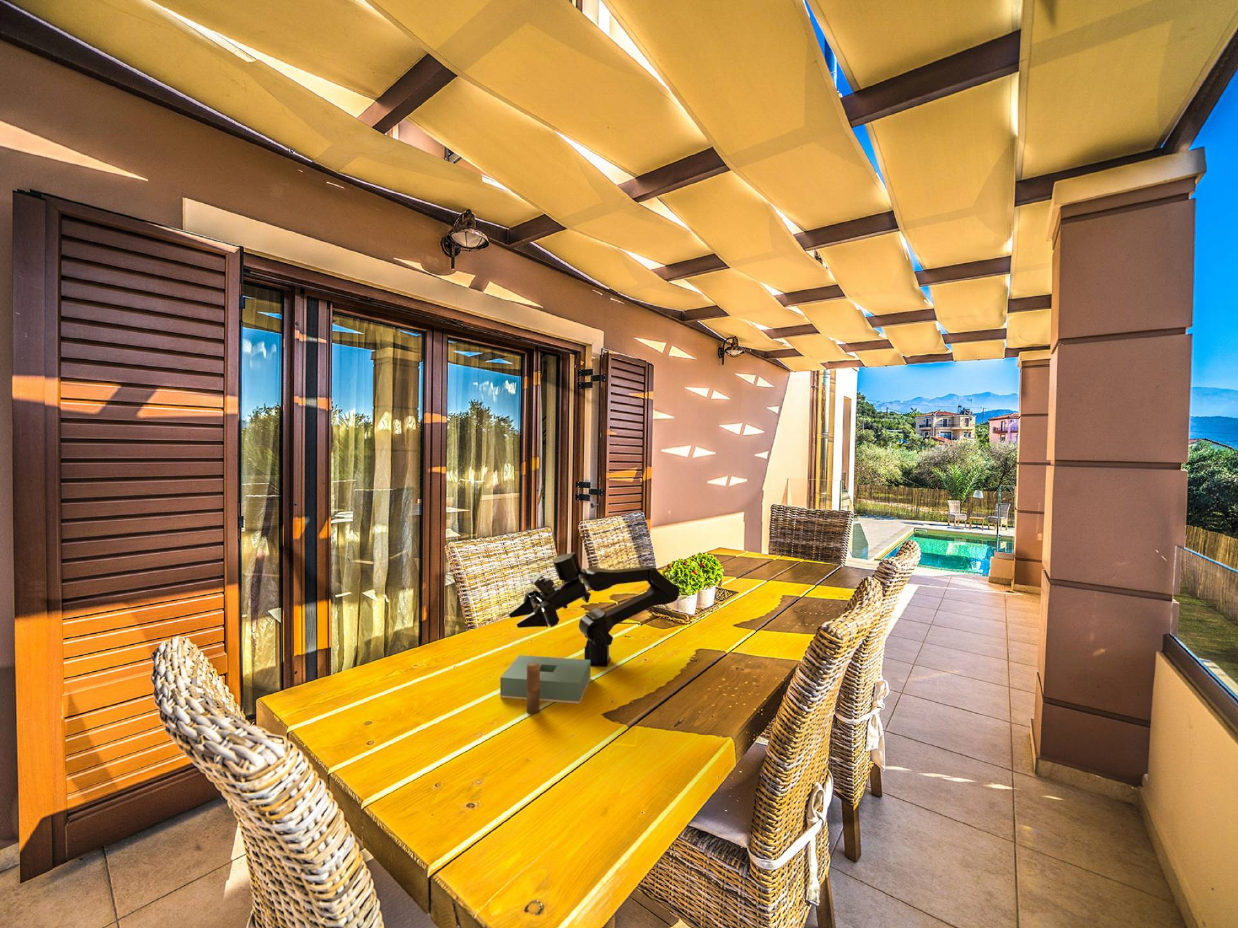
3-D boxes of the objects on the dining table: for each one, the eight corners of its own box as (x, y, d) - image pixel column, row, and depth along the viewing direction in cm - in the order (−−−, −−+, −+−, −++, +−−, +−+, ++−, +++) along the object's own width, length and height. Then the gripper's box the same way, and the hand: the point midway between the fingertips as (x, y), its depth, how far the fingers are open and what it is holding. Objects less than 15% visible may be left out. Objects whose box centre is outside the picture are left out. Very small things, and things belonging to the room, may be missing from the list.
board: (590, 678, 136) (590, 659, 136) (579, 703, 122) (579, 683, 122) (519, 672, 139) (519, 654, 139) (500, 697, 125) (500, 677, 125)
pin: (541, 708, 120) (541, 662, 120) (537, 714, 117) (537, 667, 117) (528, 707, 121) (529, 661, 120) (524, 713, 118) (525, 666, 117)
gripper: (545, 562, 149) (495, 585, 143) (565, 575, 133) (510, 602, 126) (558, 596, 151) (509, 620, 145) (579, 613, 134) (525, 642, 128)
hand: (513, 620), depth 136 cm, fingers open, 9 cm apart
